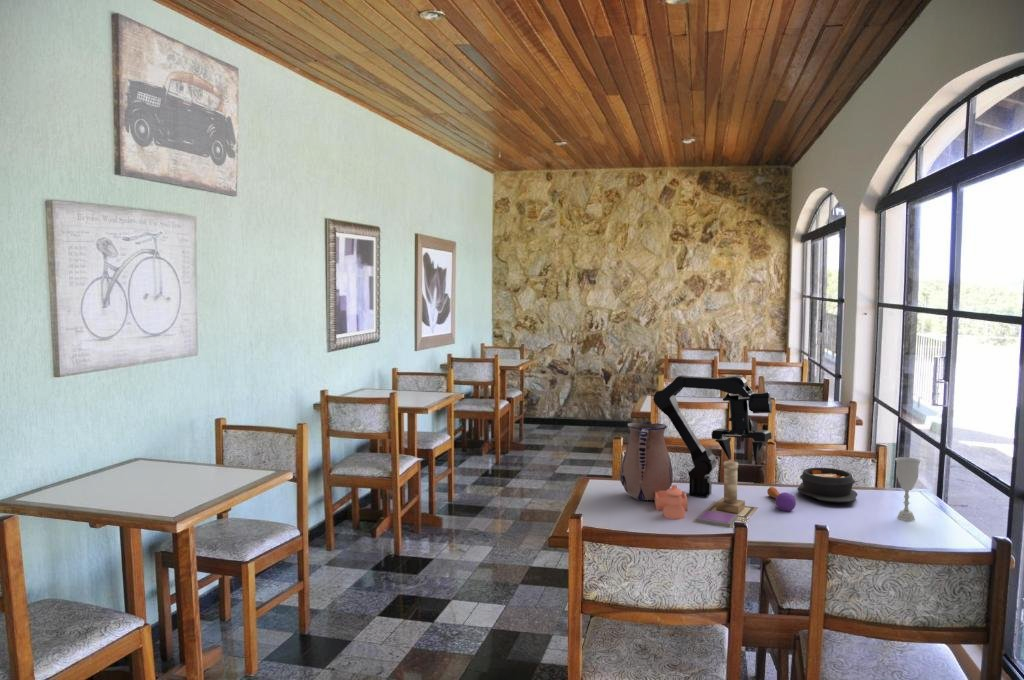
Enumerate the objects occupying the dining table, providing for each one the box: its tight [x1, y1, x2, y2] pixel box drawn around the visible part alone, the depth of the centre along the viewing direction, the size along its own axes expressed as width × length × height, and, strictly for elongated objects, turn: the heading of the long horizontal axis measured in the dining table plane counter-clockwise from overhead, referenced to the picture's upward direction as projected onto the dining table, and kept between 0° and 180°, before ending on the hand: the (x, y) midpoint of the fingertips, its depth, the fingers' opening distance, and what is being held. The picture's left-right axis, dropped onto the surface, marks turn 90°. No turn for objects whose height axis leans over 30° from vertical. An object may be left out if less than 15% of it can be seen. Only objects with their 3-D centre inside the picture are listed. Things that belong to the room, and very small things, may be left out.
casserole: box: [796, 467, 858, 503], centre depth 245 cm, size 25×19×8 cm
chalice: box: [894, 456, 921, 522], centre depth 221 cm, size 7×7×18 cm
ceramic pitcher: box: [619, 421, 674, 501], centre depth 244 cm, size 18×21×25 cm
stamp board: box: [692, 501, 760, 529], centre depth 225 cm, size 14×25×1 cm, turn 149°
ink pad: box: [695, 509, 738, 528], centre depth 220 cm, size 10×10×1 cm
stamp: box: [716, 460, 746, 514], centre depth 230 cm, size 7×7×15 cm
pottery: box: [654, 484, 688, 520], centre depth 229 cm, size 18×10×10 cm, turn 173°
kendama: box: [766, 486, 797, 512], centre depth 237 cm, size 6×6×20 cm
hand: (742, 460), depth 242 cm, fingers open, 9 cm apart
